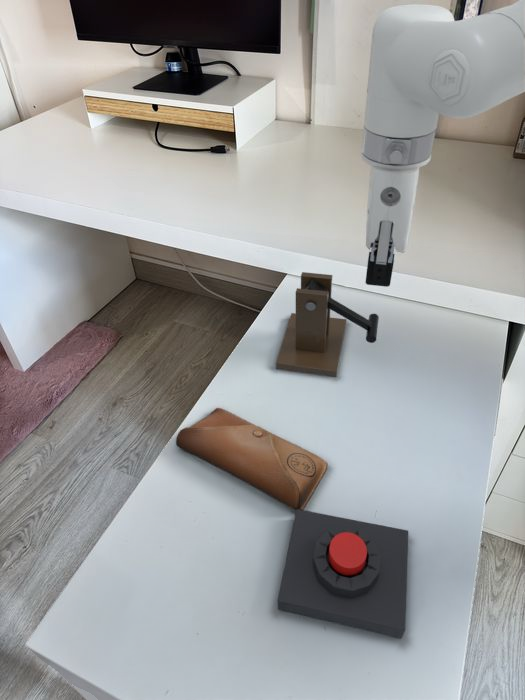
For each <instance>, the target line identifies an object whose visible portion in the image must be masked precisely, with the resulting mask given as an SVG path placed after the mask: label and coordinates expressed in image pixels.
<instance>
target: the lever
mask: <svg viewBox="0 0 525 700" xmlns="http://www.w3.org/2000/svg"><path fill="white" fill-rule="evenodd" d="M304 289H309V290H319V291H328V289H327V288H326V287H324V286H322V285H321V284H319V283H317V282H316V281H314V280H312V279H311V280H310V281H309V283H308V284H307V285H306V287H305V288H304ZM328 308H329V309H331V310H330V311H332V312H334V313H335V314H338V315H339V316H341V317H343V318H344V319H346V320H348V321H350V322H352V323H353V324H355V325H356V326H359V327H360V328H362V329H363V330H365V331H366V335H365V341H366V342H367V343H370V344H373V343H376V341H377V336H378V328H379V321H380V319H379V318H380V317H379V315H378V314H377V313H370V314H369V316H368V318H366V317H364V316H363V315H361V314H360V313H357V312H355V310H352V309H351V308H349V307H347V306H346V305H344V304H342V303H341V302H339V301H337V300H335V299H334V298H332V297H331V298H330V297H329V296H328Z"/></svg>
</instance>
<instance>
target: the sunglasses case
mask: <svg viewBox="0 0 525 700" xmlns="http://www.w3.org/2000/svg"><path fill="white" fill-rule="evenodd" d="M175 445H176V447H177V448H179V449H181V450H182V451H184V452H186V453H188V454H190V455H192V456H193V457H196V458H198V459H200V460H202V461H204V462H205V463H208V464H210V465H211V466H213V467H215V468H217V469H220V470H221V471H223V472H225V473H228V474H229V475H230V476H232V477H234V478H236V479H238V480H240V481H242V482H244V483H245V484H247V485H249V486H250V487H253V488H255V489H257V490H258V491H260V492H262V493H264V494H266V495H267V496H269V497H270V498H272V499H274V500H276V501H278V502H280V503H281V504H283V505H285V506H287V507H289V508H291V509H292V510H295V511H296V510H297V509H300V510H304V509H305V507H306V506H307V505H308V503H309V502H310V500H311V498H312V496H313V495H314V493H315V491H316V489H317V488H318V487H319V484H320V482H321V480H323V479H322V478H323V477H324V475H325V474H326V472H327V470H328V461H326V460H325V459H323V458H322V457H320V456H318V455H317V454H315V453H313V452H310V451H309V450H307V449H305V448H303V447H301V446H300V445H297V444H295V443H293V442H291V441H288V440H286V439H284V438H282V437H281V436H278V435H276V434H274V433H272V432H270V431H268V430H267V429H264V428H263V427H262V426H261V427H260V426H258V425H256V424H254V423H252V422H250V421H247V420H246V419H244V418H242V417H240V416H238V415H236V414H235V413H232V412H230V411H228V410H227V409H224V408H221V407H216V408H214V410H212V411H211V412H210V413H209V414H208V415H207V416H205V417H204V418H202V419H200V420H199V421H197V422H195V423H193V424H192V425H191V426H187V427H184V428H182V429H180V430H179V432H178V434H177V436H176V438H175Z"/></svg>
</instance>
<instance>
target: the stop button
mask: <svg viewBox="0 0 525 700" xmlns="http://www.w3.org/2000/svg"><path fill="white" fill-rule="evenodd" d="M366 556H367V548H366V545H365V543H364V542H363V540H362V539H361V538H360V537H359V536H357V535H355V534H353V533H349V532H344V533H340V534H338V535H336V536H335V537H334V538H333V539H332V541H331V543H330V547H329V562H330V564H331V566H332V567H333V569H334V570H335V571H337V572H338V573H340V574H342V575H346V576H352V575H356V574H358V573H359V572H360V571H361V570H362V569H363V567H364V565H365V561H366Z"/></svg>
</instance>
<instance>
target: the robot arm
mask: <svg viewBox="0 0 525 700" xmlns="http://www.w3.org/2000/svg"><path fill="white" fill-rule="evenodd" d="M370 44H371V46H370V57H369V65H368V66H369V67H368V77H367V87H366V99H365V110H364V120H363V129H362V130H363V131H362V142H361V152H360V153H361V154H360V157H361V159H362V161H363V162H365V163H366V164H368V165H369V166H370V172H369V180H368V181H369V182H368V193H367V204H366V205H367V206H366V223H365V224H366V225H365V226H366V229H365V247H366V248H367V249H368V258H367V265H366V266H367V267H366V276H365V285H368V286H377V287H385V288H387V287H390V286H391V282H392V275H393V270H394V263H395V253H394V252H395V251H396V252H397V253H401V254H404V253H406V252H407V251H408V246H409V239H410V235H411V234H410V233H411V226H412V222H413V215H414V209H415V202H416V196H417V192H418V191H417V190H418V183H419V177H420V176H419V175H420V168H422V167H424V166H426V165H427V164H428V163H430V161H431V159H432V154H433V148H434V143H435V138H436V132H437V127H438V121H439V117H440V115H441V116H443V117H447V118H449V119H455V120H456V119H457V120H463V119H469V118H473V117H476V116H478V115H481V114H483V113H486V112H488V111H489V110H491V109H493V108H495V107H497V106H499V105H501V104H503V103H504V102H506V101H508V100H511V99H513V98H515V97H517V96H519V95H521V94H523V93H525V0H517V1H516V2H514V3H513V4H510V5H507V6H502V7H500V8H497V9H494V10H491V11H488V12H485V13H482V14H478V15H476V16H472V17H469V18H468V17H467V18H464V19H460V20H455V17H454V15H453V13H452V12H451V11H450V10H449V9H448V8H445V7H443V6H441V5H434V4H421V3H420V4H419V3H414V4H413V3H412V4H410V3H409V4H400V5H395V6H390V7H389V8H386V9H384V10H383V11H381V12H380V13H379V14H378V16H377V17H376V19H375V21H374V24H373V28H372V36H371V43H370Z"/></svg>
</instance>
